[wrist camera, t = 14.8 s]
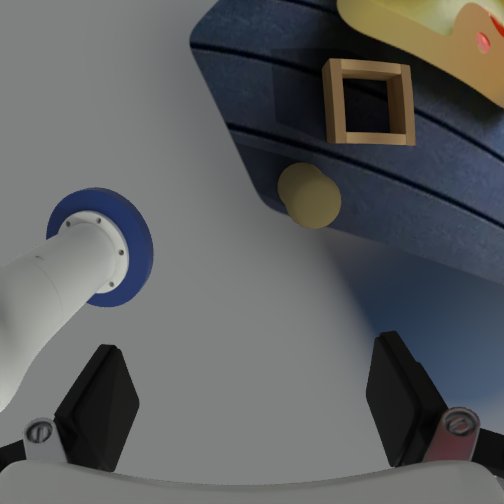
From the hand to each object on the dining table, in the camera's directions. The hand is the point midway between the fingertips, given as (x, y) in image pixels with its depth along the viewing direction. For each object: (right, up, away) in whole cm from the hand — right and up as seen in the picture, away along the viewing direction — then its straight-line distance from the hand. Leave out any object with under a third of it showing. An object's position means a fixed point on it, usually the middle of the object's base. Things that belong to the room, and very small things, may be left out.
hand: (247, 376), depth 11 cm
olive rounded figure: (+6, +12, +27) cm, 30 cm away
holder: (+13, +22, +23) cm, 35 cm away
